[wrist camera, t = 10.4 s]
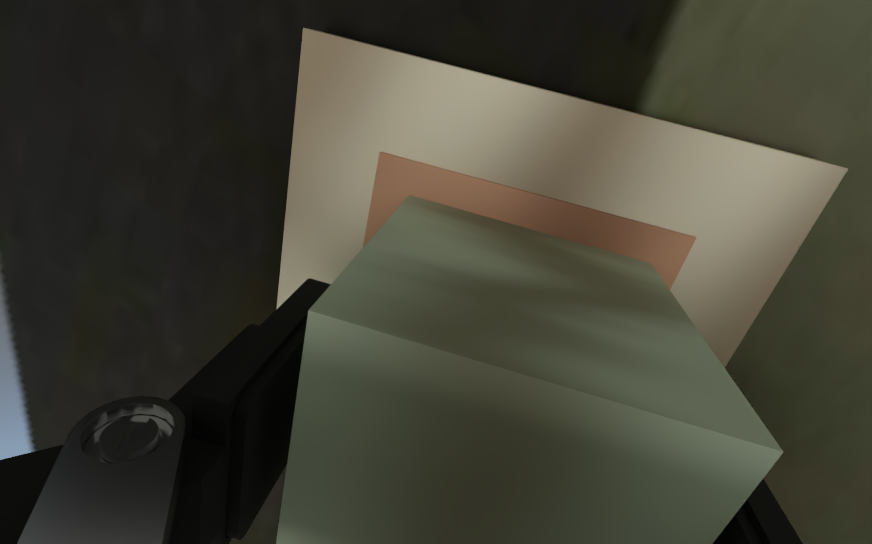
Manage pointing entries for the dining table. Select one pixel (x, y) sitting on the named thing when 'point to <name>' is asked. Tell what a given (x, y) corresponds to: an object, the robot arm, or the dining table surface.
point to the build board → (540, 177)
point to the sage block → (510, 398)
